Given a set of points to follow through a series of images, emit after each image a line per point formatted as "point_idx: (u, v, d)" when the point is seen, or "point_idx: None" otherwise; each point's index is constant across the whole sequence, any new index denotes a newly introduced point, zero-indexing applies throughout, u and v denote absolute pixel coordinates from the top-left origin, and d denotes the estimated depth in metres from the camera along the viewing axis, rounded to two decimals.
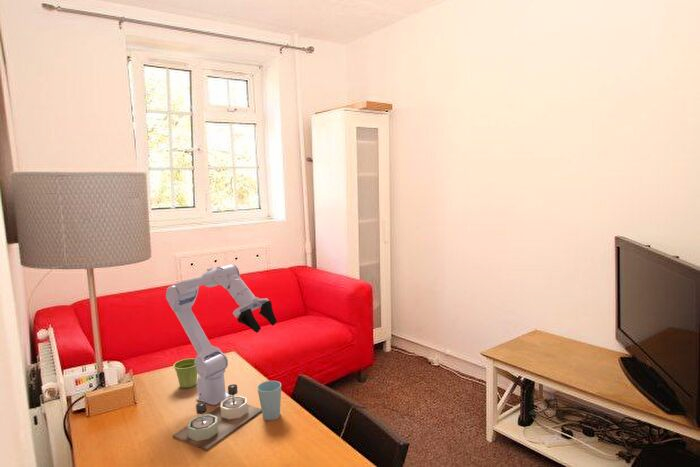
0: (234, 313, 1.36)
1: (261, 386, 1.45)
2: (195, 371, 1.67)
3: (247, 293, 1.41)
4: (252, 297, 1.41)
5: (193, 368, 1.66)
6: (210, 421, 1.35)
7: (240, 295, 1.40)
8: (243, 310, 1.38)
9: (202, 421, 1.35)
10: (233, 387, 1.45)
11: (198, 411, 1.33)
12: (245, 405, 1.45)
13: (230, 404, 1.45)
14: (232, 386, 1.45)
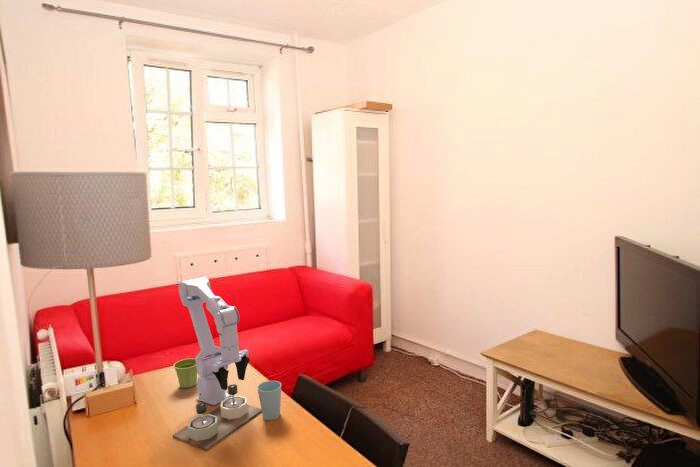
0: (213, 367, 1.38)
1: (261, 386, 1.45)
2: (195, 371, 1.67)
3: (234, 350, 1.42)
4: (236, 356, 1.42)
5: (193, 368, 1.66)
6: (210, 421, 1.35)
7: (227, 349, 1.41)
8: None
9: (202, 421, 1.35)
10: (233, 387, 1.45)
11: (198, 411, 1.33)
12: (245, 405, 1.45)
13: (230, 404, 1.45)
14: (232, 386, 1.45)
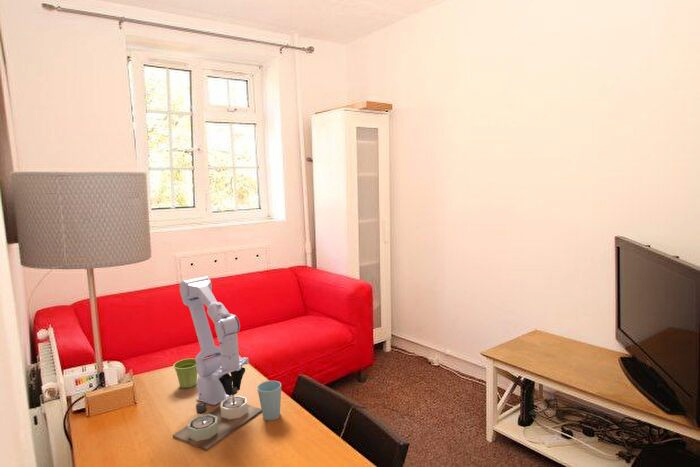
0: (213, 376, 1.39)
1: (261, 386, 1.45)
2: (195, 371, 1.67)
3: (234, 359, 1.42)
4: (236, 364, 1.43)
5: (193, 368, 1.66)
6: (210, 421, 1.35)
7: (227, 358, 1.41)
8: None
9: (202, 421, 1.35)
10: (233, 387, 1.45)
11: (198, 411, 1.33)
12: (245, 405, 1.45)
13: (230, 404, 1.45)
14: (232, 386, 1.45)
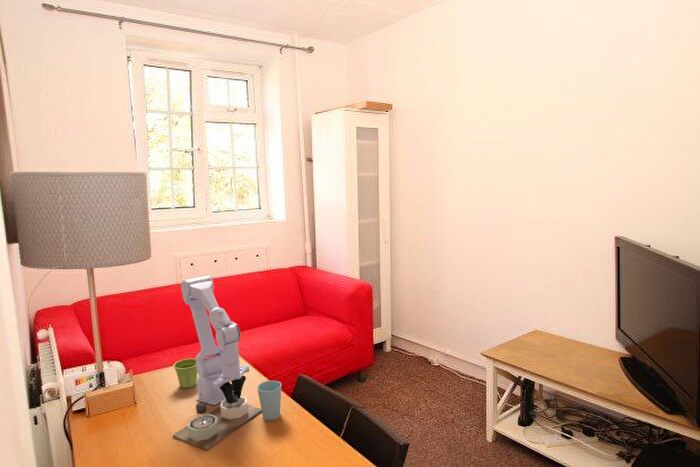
0: (213, 385, 1.39)
1: (261, 386, 1.45)
2: (195, 371, 1.67)
3: (235, 367, 1.43)
4: (237, 373, 1.43)
5: (193, 368, 1.66)
6: (210, 421, 1.35)
7: (228, 367, 1.42)
8: None
9: (202, 421, 1.35)
10: (234, 395, 1.45)
11: (198, 411, 1.33)
12: (245, 405, 1.45)
13: None
14: (233, 394, 1.46)
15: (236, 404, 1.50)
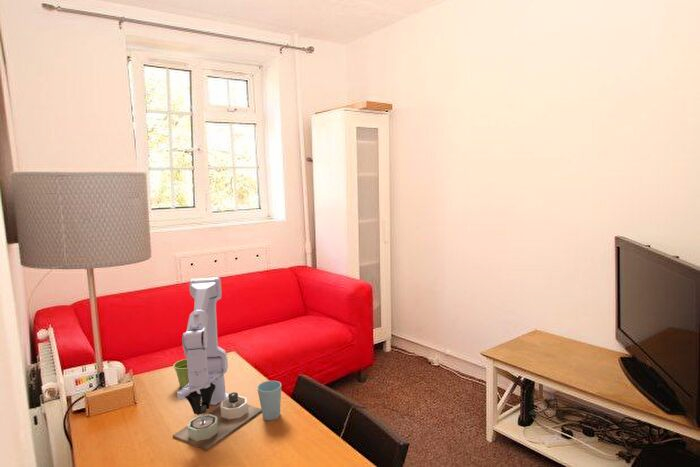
0: (178, 395, 1.28)
1: (261, 386, 1.45)
2: None
3: (202, 376, 1.31)
4: (205, 381, 1.32)
5: None
6: (210, 421, 1.35)
7: (194, 375, 1.30)
8: None
9: (202, 421, 1.35)
10: (234, 395, 1.45)
11: None
12: (245, 405, 1.45)
13: None
14: (233, 394, 1.46)
15: (236, 404, 1.50)
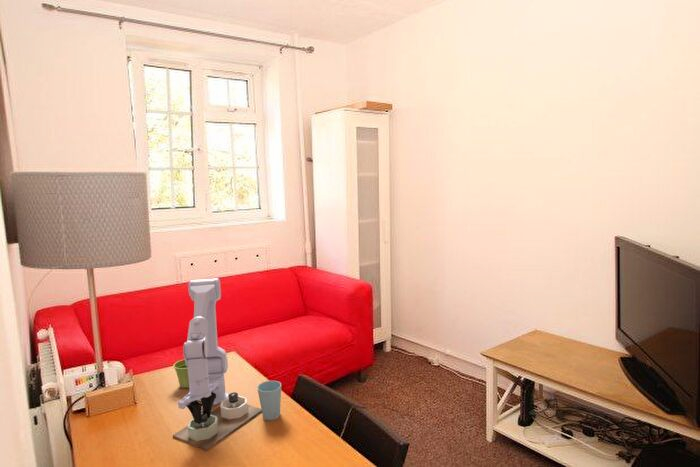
0: (179, 404, 1.28)
1: (261, 386, 1.45)
2: None
3: (203, 385, 1.31)
4: (205, 390, 1.32)
5: None
6: None
7: (195, 384, 1.31)
8: None
9: None
10: (234, 395, 1.45)
11: None
12: (245, 405, 1.45)
13: None
14: (233, 394, 1.46)
15: (236, 404, 1.50)
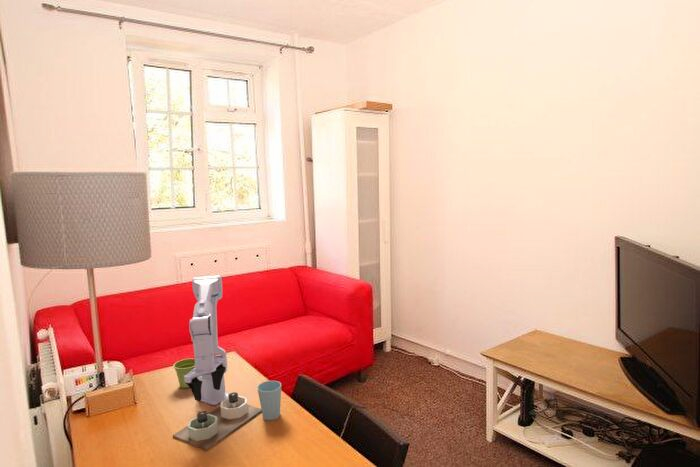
0: (185, 378, 1.32)
1: (261, 386, 1.45)
2: None
3: (208, 360, 1.36)
4: (210, 365, 1.36)
5: (193, 368, 1.66)
6: None
7: (201, 359, 1.35)
8: None
9: None
10: (234, 395, 1.45)
11: (199, 420, 1.34)
12: (245, 405, 1.45)
13: None
14: (233, 394, 1.46)
15: (236, 404, 1.50)
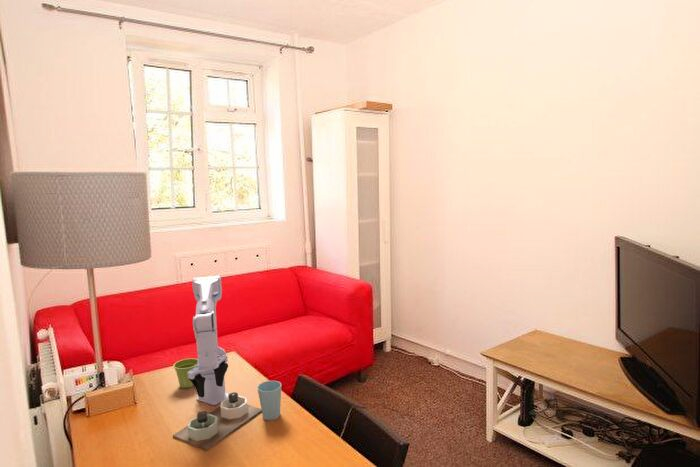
0: (189, 374, 1.34)
1: (261, 386, 1.45)
2: None
3: (211, 357, 1.38)
4: (213, 362, 1.39)
5: None
6: None
7: (204, 356, 1.37)
8: None
9: None
10: (234, 395, 1.45)
11: (199, 420, 1.34)
12: (245, 405, 1.45)
13: None
14: (233, 394, 1.46)
15: (236, 404, 1.50)
